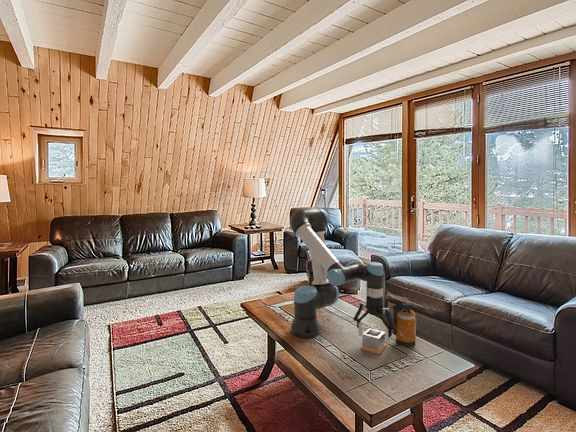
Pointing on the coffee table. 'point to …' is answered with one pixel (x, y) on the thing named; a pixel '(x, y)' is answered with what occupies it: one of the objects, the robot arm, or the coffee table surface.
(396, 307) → the canister
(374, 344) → the grey hollow block
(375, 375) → the coffee table surface
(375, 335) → the block
